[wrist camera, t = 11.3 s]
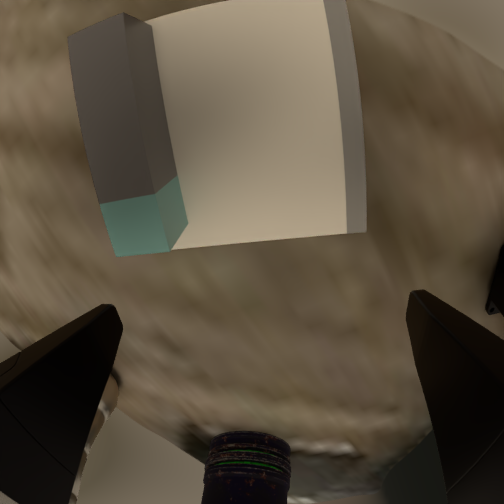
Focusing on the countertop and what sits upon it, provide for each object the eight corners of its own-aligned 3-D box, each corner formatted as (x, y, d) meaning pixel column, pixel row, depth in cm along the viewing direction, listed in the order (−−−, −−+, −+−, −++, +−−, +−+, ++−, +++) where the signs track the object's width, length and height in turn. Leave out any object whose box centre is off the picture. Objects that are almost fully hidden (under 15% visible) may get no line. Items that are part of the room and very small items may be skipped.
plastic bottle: (59, 354, 28) (-24, 504, 10) (98, 346, 26) (7, 530, 8) (95, 394, 30) (33, 538, 13) (137, 390, 29) (75, 562, 11)
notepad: (340, -4, 12) (343, -9, 12) (362, 225, 19) (366, 231, 18) (91, 46, 15) (82, 45, 14) (134, 247, 21) (128, 254, 20)
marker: (151, 25, 13) (123, 12, 10) (188, 223, 19) (169, 251, 15) (102, 43, 14) (67, 37, 10) (141, 229, 19) (116, 257, 16)
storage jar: (286, 466, 35) (282, 565, 21) (212, 461, 35) (195, 557, 22) (295, 432, 30) (293, 558, 17) (205, 426, 31) (180, 548, 17)
